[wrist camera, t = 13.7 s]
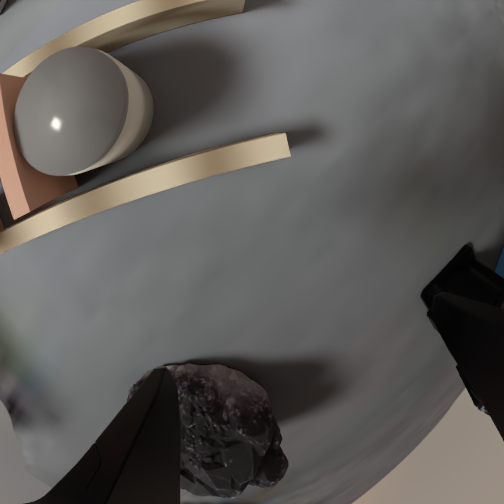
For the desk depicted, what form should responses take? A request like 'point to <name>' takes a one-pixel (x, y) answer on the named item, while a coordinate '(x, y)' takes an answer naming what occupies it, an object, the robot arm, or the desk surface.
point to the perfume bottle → (500, 265)
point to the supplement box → (2, 4)
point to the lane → (159, 176)
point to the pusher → (23, 160)
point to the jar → (81, 112)
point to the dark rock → (224, 431)
